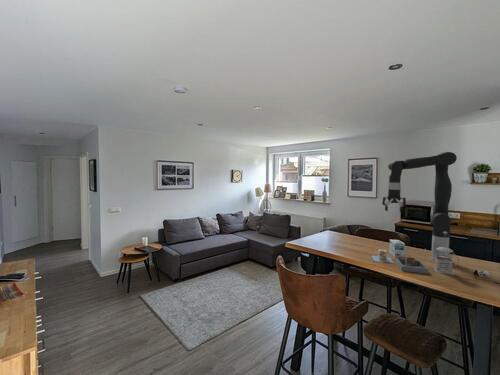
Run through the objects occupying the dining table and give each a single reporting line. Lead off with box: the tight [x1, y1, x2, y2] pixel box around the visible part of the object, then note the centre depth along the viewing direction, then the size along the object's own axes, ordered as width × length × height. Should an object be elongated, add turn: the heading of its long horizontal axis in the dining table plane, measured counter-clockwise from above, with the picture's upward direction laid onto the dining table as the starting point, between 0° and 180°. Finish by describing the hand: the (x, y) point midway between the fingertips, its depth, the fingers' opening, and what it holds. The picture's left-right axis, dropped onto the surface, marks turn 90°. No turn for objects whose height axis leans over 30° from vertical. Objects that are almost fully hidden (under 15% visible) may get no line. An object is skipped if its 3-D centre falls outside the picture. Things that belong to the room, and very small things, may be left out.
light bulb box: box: [388, 239, 406, 258], centre depth 175 cm, size 11×7×11 cm, turn 169°
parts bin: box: [395, 257, 429, 275], centre depth 149 cm, size 14×16×4 cm
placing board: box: [371, 255, 394, 264], centre depth 165 cm, size 12×12×1 cm
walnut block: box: [404, 254, 416, 267], centre depth 153 cm, size 4×4×6 cm
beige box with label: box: [377, 248, 388, 260], centre depth 165 cm, size 4×4×6 cm
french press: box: [434, 232, 460, 276], centre depth 143 cm, size 10×12×25 cm
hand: (393, 211), depth 170 cm, fingers open, 8 cm apart
